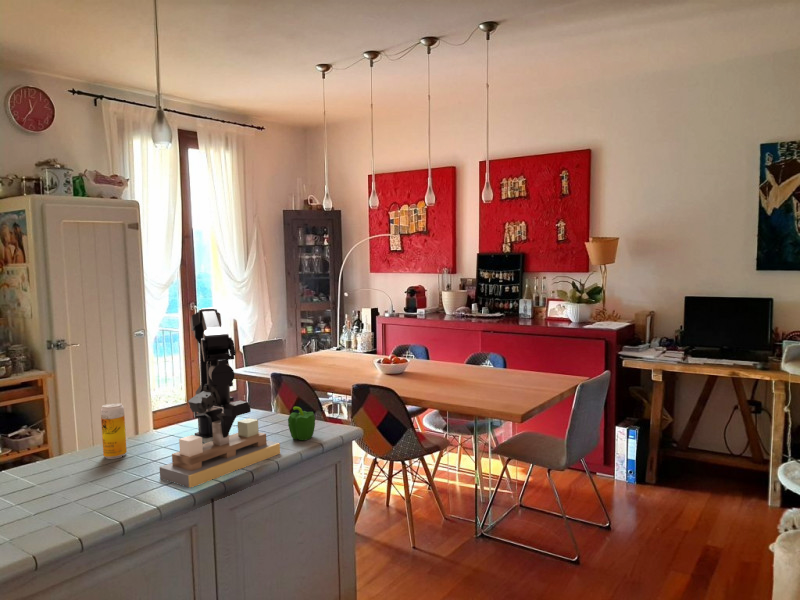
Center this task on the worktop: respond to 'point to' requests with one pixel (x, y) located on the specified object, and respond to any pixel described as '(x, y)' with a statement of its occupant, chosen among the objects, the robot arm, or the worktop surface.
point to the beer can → (113, 430)
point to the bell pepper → (301, 424)
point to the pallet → (217, 448)
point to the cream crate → (190, 445)
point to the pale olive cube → (248, 427)
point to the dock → (219, 465)
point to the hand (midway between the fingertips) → (221, 436)
